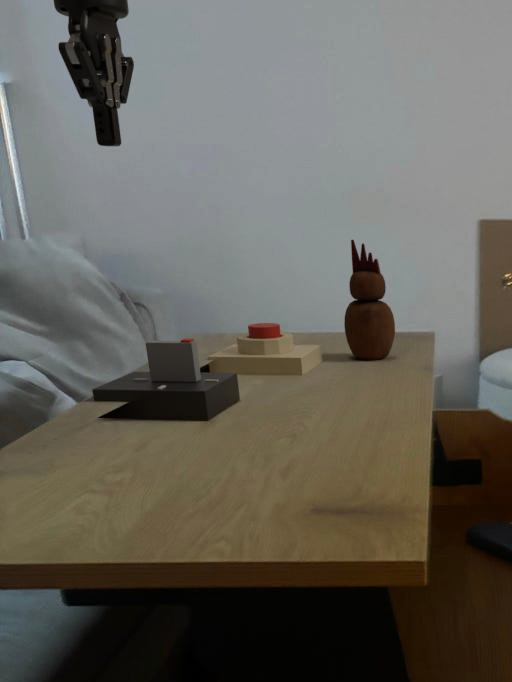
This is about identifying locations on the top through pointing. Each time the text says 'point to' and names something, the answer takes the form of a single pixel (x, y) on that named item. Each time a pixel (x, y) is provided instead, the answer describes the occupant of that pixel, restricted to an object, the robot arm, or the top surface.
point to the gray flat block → (173, 361)
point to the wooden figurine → (368, 310)
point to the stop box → (266, 357)
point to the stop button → (264, 330)
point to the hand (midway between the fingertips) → (109, 145)
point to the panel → (169, 397)
